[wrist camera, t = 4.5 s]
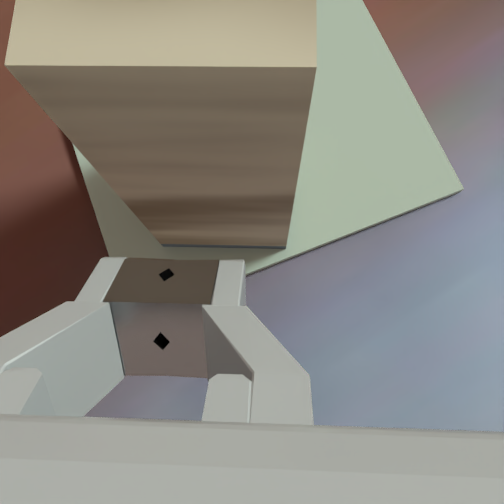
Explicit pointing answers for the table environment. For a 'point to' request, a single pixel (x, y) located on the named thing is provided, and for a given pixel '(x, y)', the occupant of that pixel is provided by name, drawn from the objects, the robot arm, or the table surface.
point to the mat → (325, 153)
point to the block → (179, 106)
